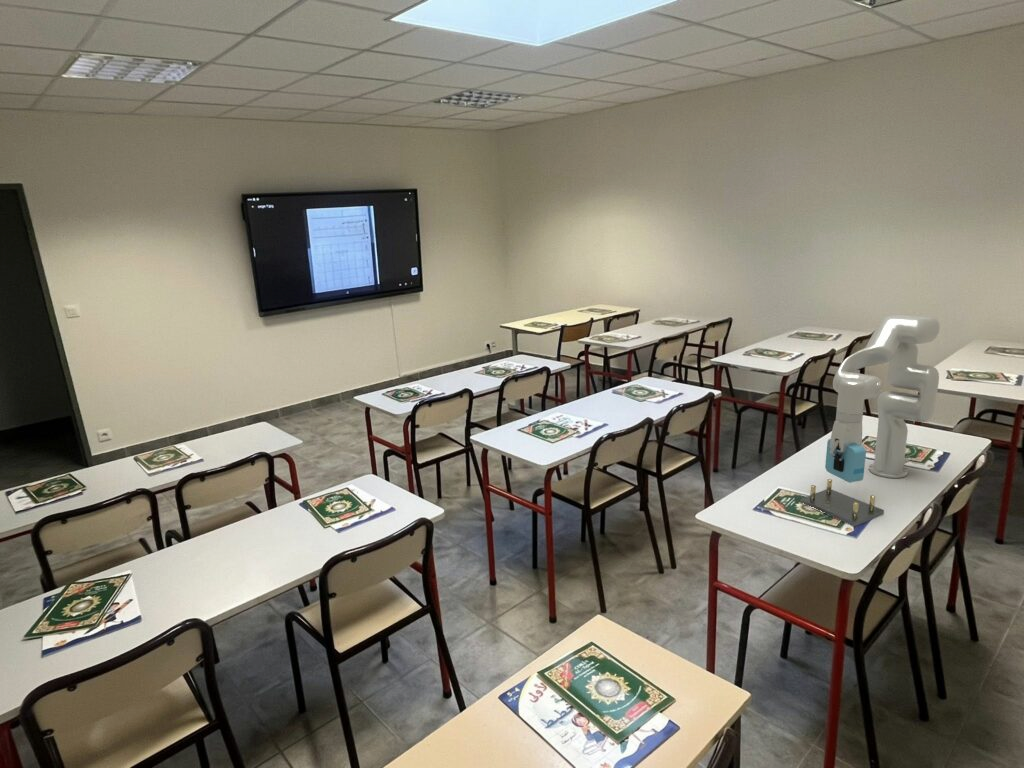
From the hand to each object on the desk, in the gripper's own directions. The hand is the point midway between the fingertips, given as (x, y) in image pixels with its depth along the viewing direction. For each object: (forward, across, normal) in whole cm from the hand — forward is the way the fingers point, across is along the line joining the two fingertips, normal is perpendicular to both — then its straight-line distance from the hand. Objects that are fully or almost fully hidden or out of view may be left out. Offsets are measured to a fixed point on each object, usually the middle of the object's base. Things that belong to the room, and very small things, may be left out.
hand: (844, 467), depth 203 cm
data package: (+3, 0, 0) cm, 3 cm away
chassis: (+15, 0, 0) cm, 15 cm away
